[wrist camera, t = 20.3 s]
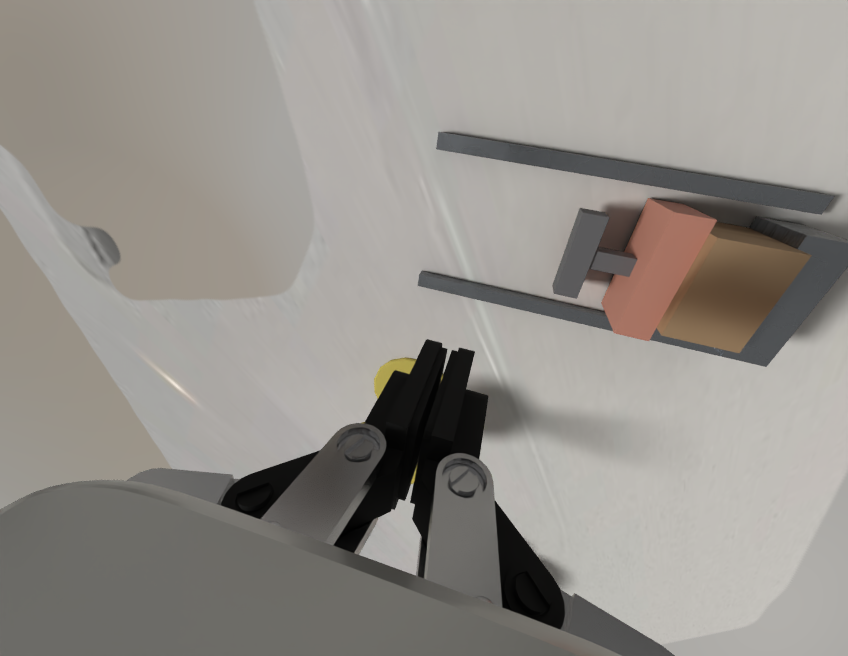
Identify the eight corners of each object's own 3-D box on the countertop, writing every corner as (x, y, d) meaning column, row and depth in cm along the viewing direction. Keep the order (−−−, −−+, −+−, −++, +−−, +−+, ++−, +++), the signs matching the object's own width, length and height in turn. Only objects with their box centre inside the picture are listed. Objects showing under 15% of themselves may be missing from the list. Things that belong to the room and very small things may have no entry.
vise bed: (441, 131, 28) (424, 132, 23) (823, 194, 24) (894, 209, 19) (420, 281, 35) (404, 305, 30) (715, 349, 31) (748, 388, 26)
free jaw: (583, 186, 27) (594, 197, 22) (683, 204, 26) (717, 220, 21) (546, 290, 32) (549, 318, 27) (630, 309, 31) (648, 341, 26)
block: (676, 214, 27) (718, 238, 21) (747, 227, 26) (811, 255, 20) (635, 295, 30) (661, 335, 25) (697, 309, 30) (739, 353, 24)
